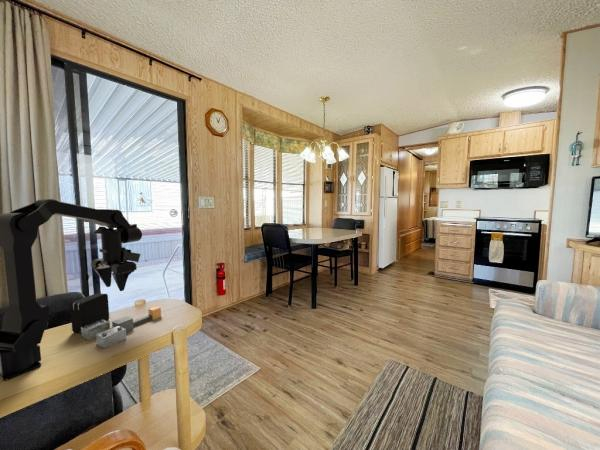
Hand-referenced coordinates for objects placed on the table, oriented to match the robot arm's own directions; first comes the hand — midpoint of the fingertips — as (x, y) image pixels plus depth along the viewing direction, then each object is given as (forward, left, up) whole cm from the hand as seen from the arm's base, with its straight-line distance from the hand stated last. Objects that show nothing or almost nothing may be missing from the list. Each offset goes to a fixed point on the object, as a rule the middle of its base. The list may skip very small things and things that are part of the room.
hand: (115, 288), depth 90 cm
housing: (-8, -9, -12) cm, 17 cm away
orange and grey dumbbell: (+2, -9, -12) cm, 15 cm away
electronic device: (-6, +4, -12) cm, 14 cm away
